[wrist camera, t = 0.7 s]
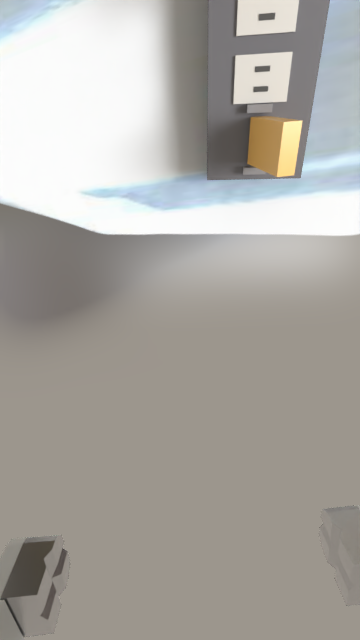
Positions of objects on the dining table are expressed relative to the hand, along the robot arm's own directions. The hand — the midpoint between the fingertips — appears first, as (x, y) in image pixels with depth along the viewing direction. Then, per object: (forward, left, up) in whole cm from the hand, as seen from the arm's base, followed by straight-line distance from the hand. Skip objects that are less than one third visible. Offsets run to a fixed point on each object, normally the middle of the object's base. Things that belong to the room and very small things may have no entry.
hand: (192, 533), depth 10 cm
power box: (-13, +9, -47) cm, 49 cm away
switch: (-4, +6, -41) cm, 42 cm away
